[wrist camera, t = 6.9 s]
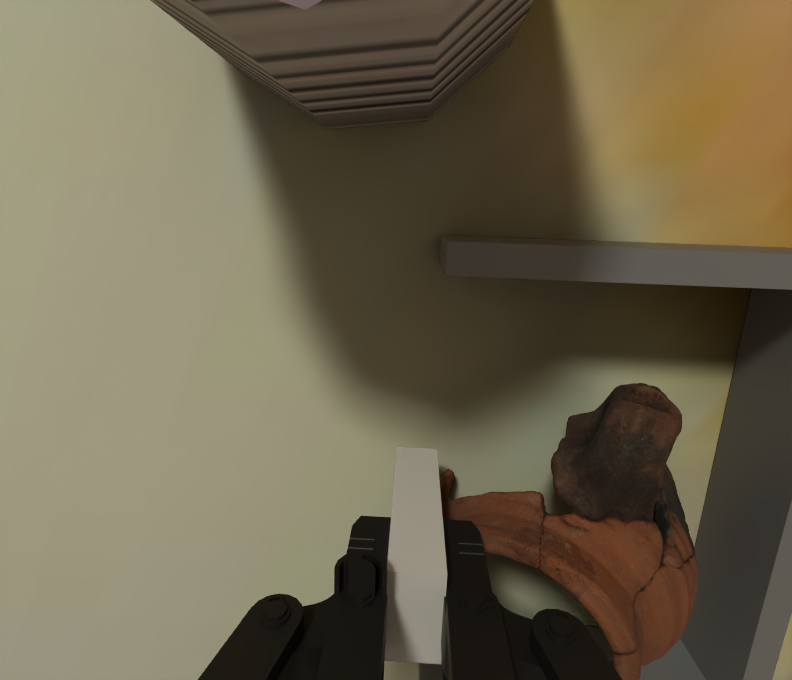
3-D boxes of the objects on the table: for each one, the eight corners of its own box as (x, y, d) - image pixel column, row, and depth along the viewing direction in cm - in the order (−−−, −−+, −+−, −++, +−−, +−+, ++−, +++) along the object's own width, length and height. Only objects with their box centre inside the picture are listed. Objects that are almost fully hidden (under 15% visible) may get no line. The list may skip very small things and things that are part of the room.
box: (418, 634, 23) (418, 721, 19) (441, 235, 18) (447, 241, 14) (694, 651, 22) (753, 744, 18) (789, 247, 18) (894, 257, 14)
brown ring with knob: (653, 594, 22) (624, 792, 16) (464, 497, 26) (380, 625, 20) (783, 373, 16) (821, 549, 10) (513, 290, 20) (415, 379, 14)
